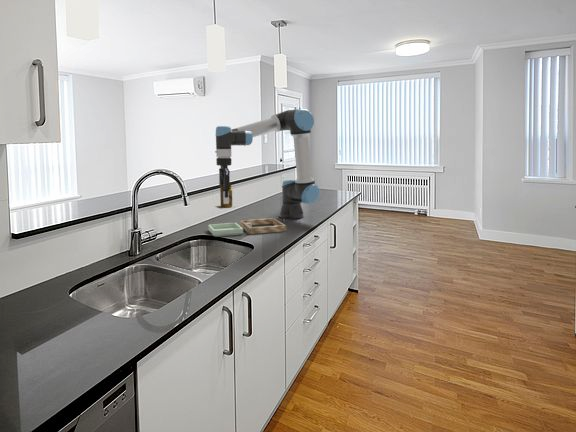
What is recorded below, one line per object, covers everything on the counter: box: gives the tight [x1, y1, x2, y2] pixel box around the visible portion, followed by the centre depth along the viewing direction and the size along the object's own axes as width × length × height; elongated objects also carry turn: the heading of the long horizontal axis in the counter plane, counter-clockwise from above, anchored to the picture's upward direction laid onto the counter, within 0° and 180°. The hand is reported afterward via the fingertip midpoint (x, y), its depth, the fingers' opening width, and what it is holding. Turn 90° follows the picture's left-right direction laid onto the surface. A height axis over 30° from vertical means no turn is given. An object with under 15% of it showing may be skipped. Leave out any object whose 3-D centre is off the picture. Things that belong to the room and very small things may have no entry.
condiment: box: [214, 183, 235, 210], centre depth 208 cm, size 7×8×12 cm
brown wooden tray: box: [239, 217, 287, 235], centre depth 221 cm, size 20×20×3 cm
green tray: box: [208, 222, 244, 238], centre depth 212 cm, size 15×15×3 cm
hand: (224, 202), depth 209 cm, fingers closed on condiment, 6 cm apart
